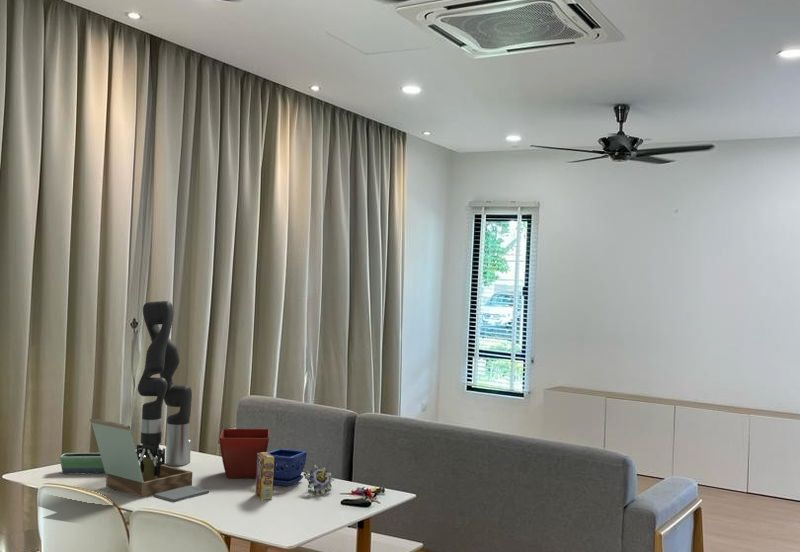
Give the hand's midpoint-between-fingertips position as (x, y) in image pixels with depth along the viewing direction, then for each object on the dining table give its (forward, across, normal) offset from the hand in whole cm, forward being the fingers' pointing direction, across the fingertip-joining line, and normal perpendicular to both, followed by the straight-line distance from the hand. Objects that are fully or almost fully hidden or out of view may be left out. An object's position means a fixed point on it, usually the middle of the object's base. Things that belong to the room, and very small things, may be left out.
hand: (149, 473), depth 288 cm
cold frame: (+4, 0, 0) cm, 4 cm away
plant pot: (+5, -14, -35) cm, 38 cm away
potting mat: (+4, -18, 0) cm, 19 cm away
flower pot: (+5, -35, -36) cm, 50 cm away
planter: (+5, +33, 0) cm, 33 cm away
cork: (+5, 0, 0) cm, 5 cm away
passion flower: (+5, -53, -35) cm, 64 cm away
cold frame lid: (-11, 0, +14) cm, 18 cm away
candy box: (+5, -43, -17) cm, 46 cm away
